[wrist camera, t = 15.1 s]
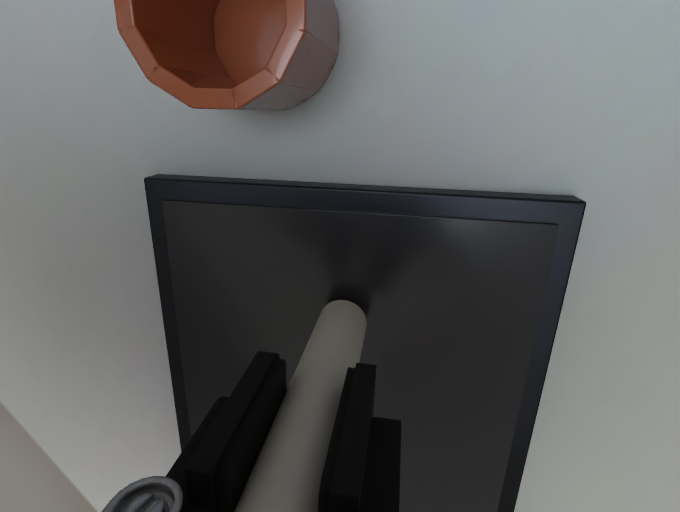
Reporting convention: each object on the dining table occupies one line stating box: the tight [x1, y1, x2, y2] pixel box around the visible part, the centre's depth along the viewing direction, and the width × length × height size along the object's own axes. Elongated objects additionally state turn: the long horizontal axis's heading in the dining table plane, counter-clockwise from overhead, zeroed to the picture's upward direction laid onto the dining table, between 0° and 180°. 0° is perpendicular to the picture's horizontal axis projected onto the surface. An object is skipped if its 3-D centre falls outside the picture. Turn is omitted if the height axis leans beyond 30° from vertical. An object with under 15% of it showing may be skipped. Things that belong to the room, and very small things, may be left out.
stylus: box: [234, 300, 367, 512], centre depth 11 cm, size 2×2×11 cm
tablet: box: [144, 174, 586, 512], centre depth 18 cm, size 16×20×1 cm
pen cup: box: [114, 0, 340, 110], centre depth 12 cm, size 5×5×5 cm
